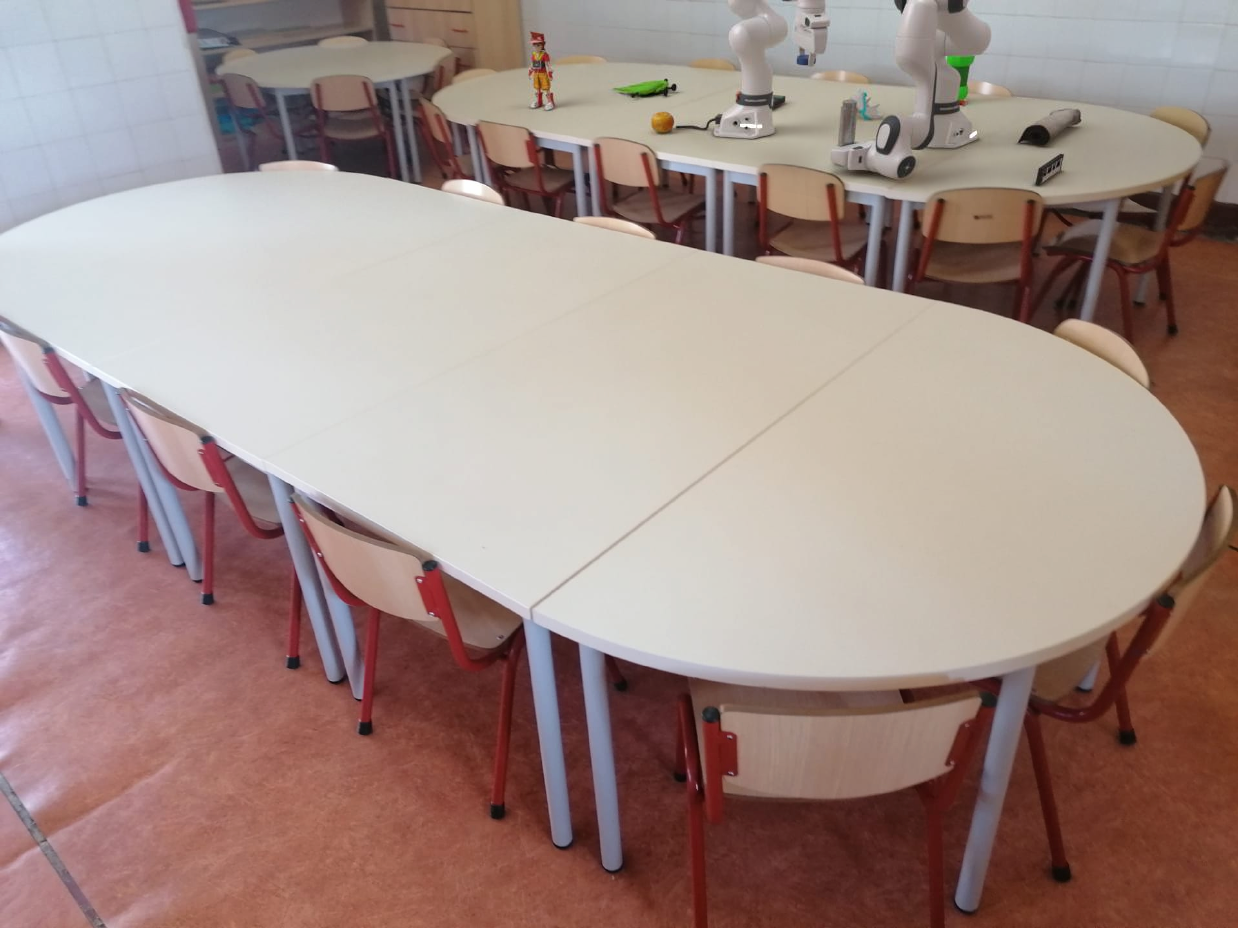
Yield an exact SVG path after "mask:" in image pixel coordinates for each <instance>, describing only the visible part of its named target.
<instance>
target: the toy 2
mask: <svg viewBox="0 0 1238 928" xmlns="http://www.w3.org/2000/svg"><path fill="white" fill-rule="evenodd" d="M669 85H670V83H669V79H668V78H664V79H663V80H649V81H644V82H640V83H634V84H629V85H627V86H621V87H613V88H612V89H613V90H616V91H619V92H623V93H627V94H628V93H629V94H631V95H630V96H631V98H632V99H634V98H636V96H637V95H650V94H652V93H654V94H658V93H662V95H663V96H665V97H667V96H668V95H669V90H671V91H672V92H676V91H677V84H676V83H672V84H671V86H669Z"/></svg>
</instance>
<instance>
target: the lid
mask: <svg viewBox="0 0 1238 928" xmlns="http://www.w3.org/2000/svg"><path fill="white" fill-rule="evenodd" d="M808 59H809V54H805V55H799V54H798V55H797V57H796V64H797V65H798V66H807V60H808ZM816 61H817V57H816V58H815V60H814V65H816Z"/></svg>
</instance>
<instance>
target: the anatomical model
mask: <svg viewBox="0 0 1238 928" xmlns="http://www.w3.org/2000/svg"><path fill="white" fill-rule="evenodd" d="M866 97H867V98H866ZM871 99H872V98H871V97H870V96H869V97H868V94H867V92H866V91H864V90H863V89H862V88H861V89H859V90H858V92H857V93H856V94H853V95H851V96H850V99H849V100H856V101H857V107H858V110H857V112H860V114H861V116H862V117H863V119H864V120H871V119H873V118H879V119H880V118H883V117H884V116H885V115H884V113H879V112H878V111H877V110H878V108H879V107H880V106H881V104H880V103H875V104H874V105H869V102H870V101H871Z"/></svg>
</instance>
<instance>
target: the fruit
mask: <svg viewBox="0 0 1238 928" xmlns="http://www.w3.org/2000/svg"><path fill="white" fill-rule="evenodd" d="M650 125H651V128H652V130H653V131H655V132H656V133H668V132H670V131H672V129H673V128H674V125H675V119H674V116H673V114H671V113H669V112H668V111H659V112H656V113H655V114H654V115H652V117H651V121H650Z"/></svg>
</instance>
